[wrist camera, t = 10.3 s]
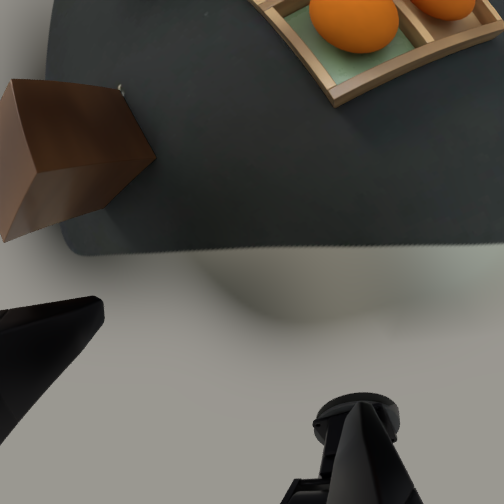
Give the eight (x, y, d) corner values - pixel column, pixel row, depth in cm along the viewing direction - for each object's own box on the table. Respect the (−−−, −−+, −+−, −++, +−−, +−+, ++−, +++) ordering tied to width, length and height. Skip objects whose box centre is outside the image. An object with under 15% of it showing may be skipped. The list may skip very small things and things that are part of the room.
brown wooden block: (157, 158, 19) (36, 173, 10) (103, 208, 22) (3, 243, 12) (119, 89, 18) (10, 78, 9) (73, 144, 21) (-22, 157, 12)
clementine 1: (402, 49, 12) (428, 17, 7) (340, 76, 13) (350, 46, 9) (356, -6, 11) (365, -47, 6) (294, 19, 12) (287, -22, 8)
